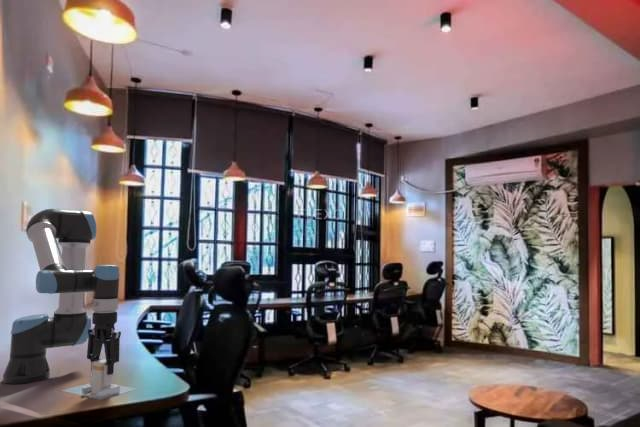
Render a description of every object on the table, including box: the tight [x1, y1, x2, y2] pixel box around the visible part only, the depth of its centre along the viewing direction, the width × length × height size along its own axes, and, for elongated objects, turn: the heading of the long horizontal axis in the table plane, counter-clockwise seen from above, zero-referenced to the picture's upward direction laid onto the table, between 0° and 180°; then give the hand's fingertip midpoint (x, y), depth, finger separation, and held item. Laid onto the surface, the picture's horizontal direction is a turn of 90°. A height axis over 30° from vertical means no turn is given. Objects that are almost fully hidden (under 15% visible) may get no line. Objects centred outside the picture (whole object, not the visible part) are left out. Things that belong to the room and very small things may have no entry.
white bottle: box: [92, 358, 111, 394], centre depth 154 cm, size 4×4×10 cm
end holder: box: [81, 383, 121, 400], centre depth 154 cm, size 8×8×2 cm
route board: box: [60, 382, 137, 401], centre depth 159 cm, size 20×14×1 cm
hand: (101, 382), depth 154 cm, fingers open, 5 cm apart
